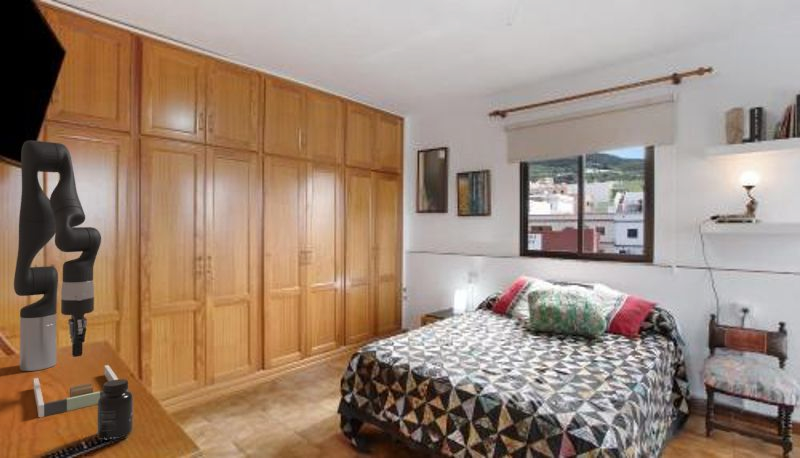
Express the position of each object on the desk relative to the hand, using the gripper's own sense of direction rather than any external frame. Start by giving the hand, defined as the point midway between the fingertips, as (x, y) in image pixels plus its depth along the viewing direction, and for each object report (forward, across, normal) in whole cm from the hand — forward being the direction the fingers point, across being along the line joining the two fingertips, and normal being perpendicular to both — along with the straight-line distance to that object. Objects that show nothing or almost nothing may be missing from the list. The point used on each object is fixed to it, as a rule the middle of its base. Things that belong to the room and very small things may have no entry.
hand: (77, 355), depth 122 cm
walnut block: (+10, +12, 0) cm, 16 cm away
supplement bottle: (+9, +37, +3) cm, 39 cm away
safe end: (+10, +15, 0) cm, 18 cm away
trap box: (+10, +4, 0) cm, 10 cm away
